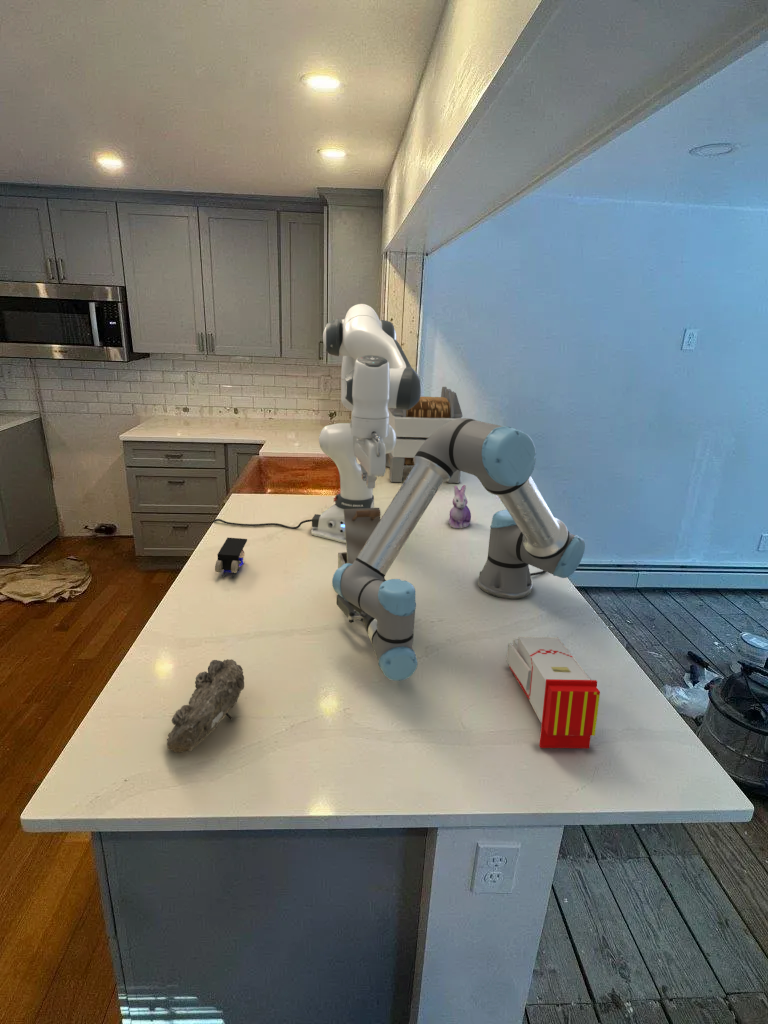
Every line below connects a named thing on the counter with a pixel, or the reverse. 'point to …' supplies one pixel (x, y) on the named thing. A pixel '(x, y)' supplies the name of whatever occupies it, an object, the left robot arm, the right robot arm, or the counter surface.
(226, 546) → the figurine character
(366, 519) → the lid
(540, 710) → the toy
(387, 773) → the counter surface
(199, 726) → the fossil
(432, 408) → the transformer
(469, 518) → the figurine
